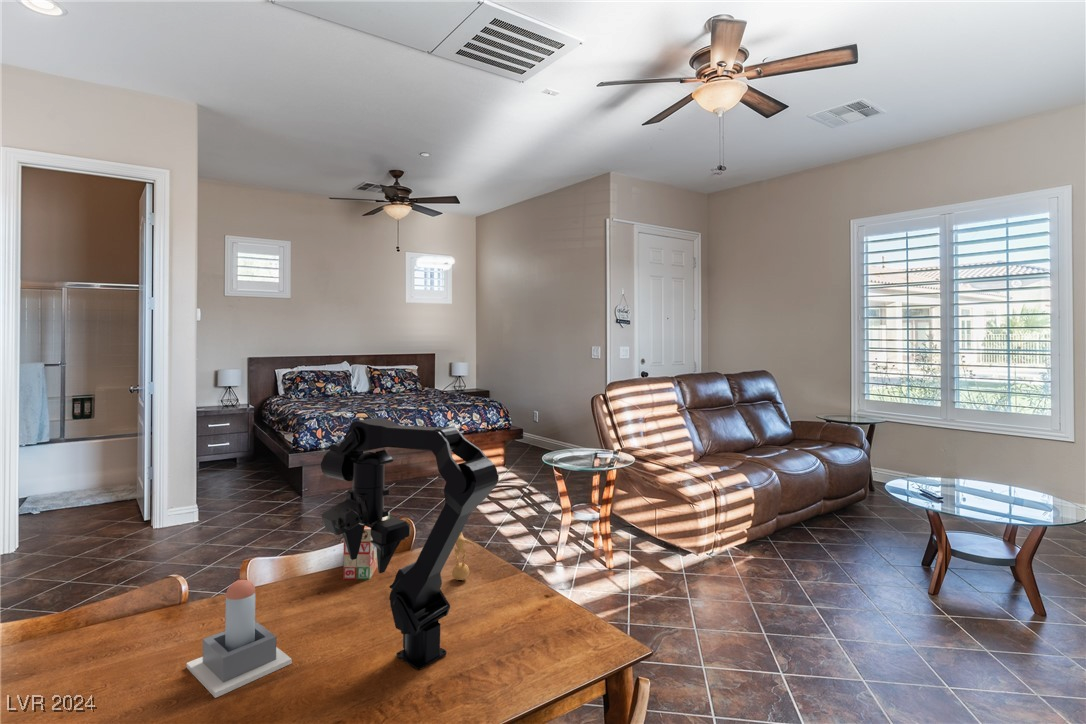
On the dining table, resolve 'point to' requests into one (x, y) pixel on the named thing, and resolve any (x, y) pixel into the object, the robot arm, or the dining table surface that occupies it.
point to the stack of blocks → (362, 558)
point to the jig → (237, 662)
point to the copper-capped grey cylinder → (240, 615)
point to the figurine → (461, 569)
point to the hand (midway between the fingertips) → (367, 565)
